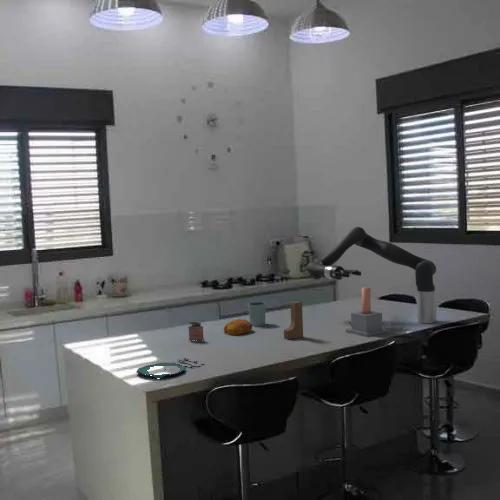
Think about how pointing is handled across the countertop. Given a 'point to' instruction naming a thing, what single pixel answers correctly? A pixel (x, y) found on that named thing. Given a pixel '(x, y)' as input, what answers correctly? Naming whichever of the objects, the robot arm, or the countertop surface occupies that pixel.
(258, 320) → the drinking glass
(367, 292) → the peg
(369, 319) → the block
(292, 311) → the wooden block
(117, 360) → the countertop surface
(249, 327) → the bread loaf
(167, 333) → the countertop surface
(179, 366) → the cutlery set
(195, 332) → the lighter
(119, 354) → the countertop surface
